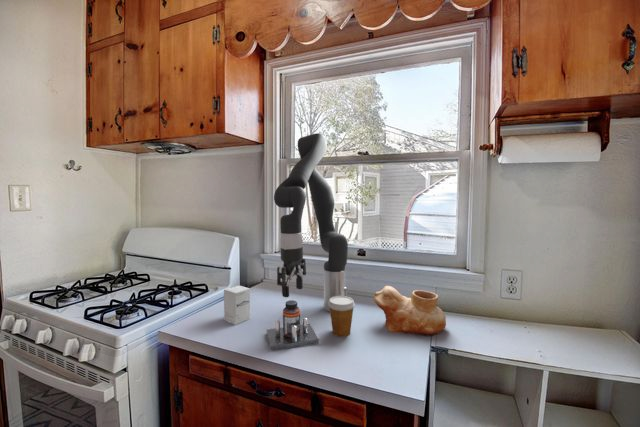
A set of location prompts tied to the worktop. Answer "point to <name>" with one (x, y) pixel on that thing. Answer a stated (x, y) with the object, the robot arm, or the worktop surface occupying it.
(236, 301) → the supplement box
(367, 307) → the worktop surface
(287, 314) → the supplement bottle
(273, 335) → the plate
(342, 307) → the disposable coffee cup
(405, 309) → the ceramic vessel
